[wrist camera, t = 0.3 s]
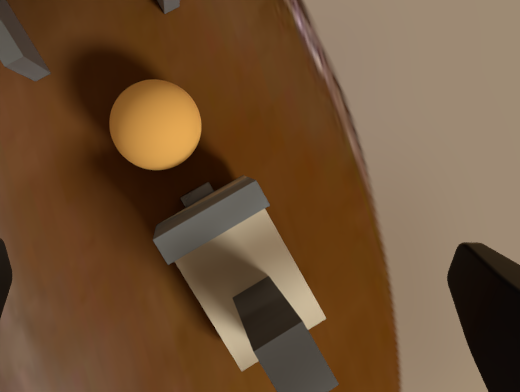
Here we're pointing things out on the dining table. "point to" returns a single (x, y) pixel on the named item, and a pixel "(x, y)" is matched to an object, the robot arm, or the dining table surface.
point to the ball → (155, 124)
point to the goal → (22, 49)
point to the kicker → (248, 284)
